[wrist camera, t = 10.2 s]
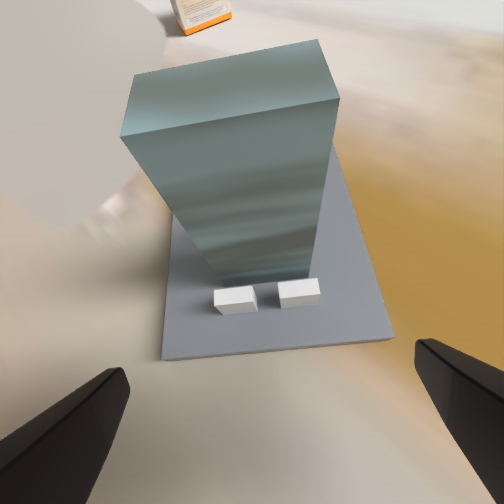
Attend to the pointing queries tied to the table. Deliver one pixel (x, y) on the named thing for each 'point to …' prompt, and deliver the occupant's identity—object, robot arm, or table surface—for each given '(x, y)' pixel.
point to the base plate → (278, 294)
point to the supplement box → (200, 13)
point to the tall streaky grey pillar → (240, 155)
